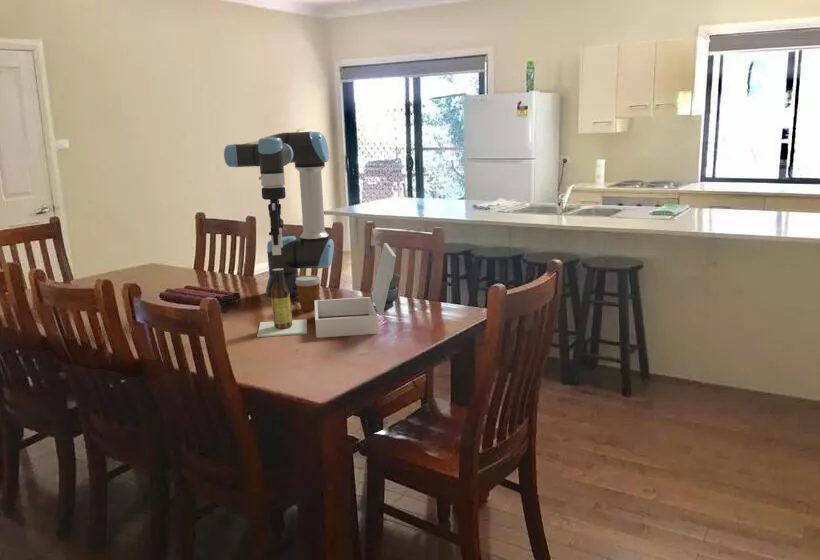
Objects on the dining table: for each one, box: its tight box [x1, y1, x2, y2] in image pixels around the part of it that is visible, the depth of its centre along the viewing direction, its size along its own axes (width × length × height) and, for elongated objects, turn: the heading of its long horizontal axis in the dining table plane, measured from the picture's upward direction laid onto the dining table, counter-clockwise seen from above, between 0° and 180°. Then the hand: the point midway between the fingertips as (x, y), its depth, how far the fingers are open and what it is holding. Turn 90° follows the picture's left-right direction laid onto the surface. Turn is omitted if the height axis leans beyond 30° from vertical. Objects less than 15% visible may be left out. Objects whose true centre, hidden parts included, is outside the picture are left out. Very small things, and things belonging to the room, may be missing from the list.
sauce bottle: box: [270, 268, 293, 329], centre depth 230 cm, size 7×6×20 cm
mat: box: [256, 318, 308, 338], centre depth 232 cm, size 16×16×1 cm
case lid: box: [371, 242, 397, 316], centre depth 233 cm, size 26×20×1 cm
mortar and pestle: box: [371, 273, 401, 309], centre depth 257 cm, size 11×9×12 cm
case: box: [314, 296, 379, 339], centre depth 234 cm, size 26×20×6 cm
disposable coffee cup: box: [295, 275, 322, 312], centre depth 255 cm, size 10×10×12 cm
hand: (277, 251), depth 227 cm, fingers open, 13 cm apart
